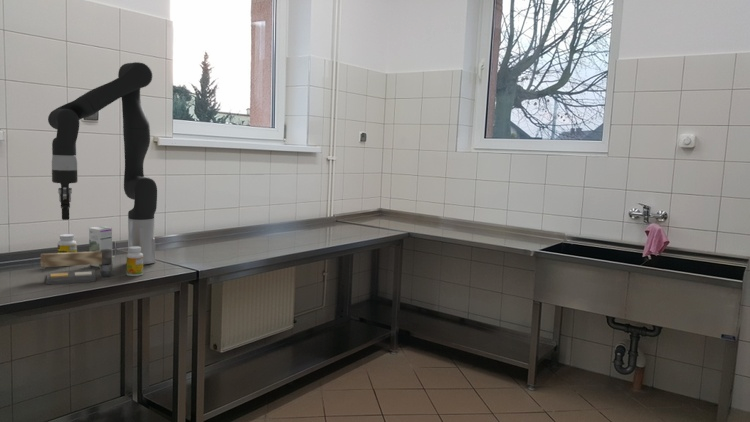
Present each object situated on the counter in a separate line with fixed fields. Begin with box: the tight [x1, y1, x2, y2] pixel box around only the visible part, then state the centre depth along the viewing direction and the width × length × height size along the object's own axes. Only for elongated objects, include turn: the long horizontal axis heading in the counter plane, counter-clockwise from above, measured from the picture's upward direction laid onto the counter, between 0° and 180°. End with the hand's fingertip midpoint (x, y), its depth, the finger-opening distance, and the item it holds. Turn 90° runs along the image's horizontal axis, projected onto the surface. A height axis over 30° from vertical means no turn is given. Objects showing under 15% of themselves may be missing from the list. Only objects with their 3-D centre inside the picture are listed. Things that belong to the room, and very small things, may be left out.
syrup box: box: [88, 225, 114, 269], centre depth 201 cm, size 6×6×14 cm
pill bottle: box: [57, 233, 78, 253], centre depth 201 cm, size 6×6×11 cm
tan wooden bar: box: [40, 249, 113, 268], centre depth 183 cm, size 21×4×5 cm, turn 119°
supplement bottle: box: [126, 246, 144, 277], centre depth 190 cm, size 5×5×10 cm
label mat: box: [45, 268, 96, 285], centre depth 182 cm, size 14×14×1 cm
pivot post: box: [99, 264, 114, 278], centre depth 187 cm, size 4×4×4 cm
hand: (65, 219), depth 186 cm, fingers closed
